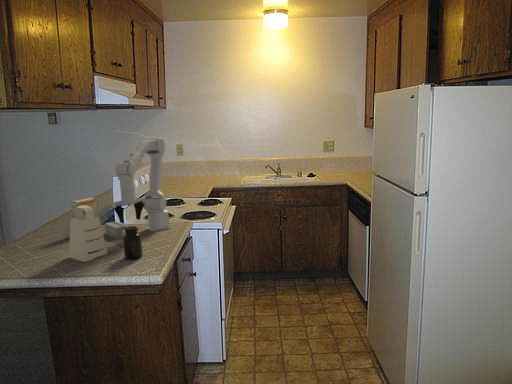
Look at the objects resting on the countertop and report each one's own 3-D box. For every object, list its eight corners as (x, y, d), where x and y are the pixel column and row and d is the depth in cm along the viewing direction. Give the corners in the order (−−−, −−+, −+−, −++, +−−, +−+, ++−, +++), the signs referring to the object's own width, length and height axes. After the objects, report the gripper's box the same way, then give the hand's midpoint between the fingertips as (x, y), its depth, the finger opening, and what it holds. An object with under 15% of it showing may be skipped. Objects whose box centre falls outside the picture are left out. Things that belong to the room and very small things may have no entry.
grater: (92, 250, 180) (87, 203, 176) (108, 254, 174) (103, 205, 170) (69, 257, 171) (63, 208, 168) (84, 261, 165) (79, 211, 162)
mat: (124, 230, 209) (124, 229, 209) (150, 241, 190) (150, 240, 190) (98, 235, 200) (98, 235, 200) (122, 247, 181) (122, 247, 181)
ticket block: (116, 231, 205) (115, 221, 205) (127, 236, 197) (126, 225, 196) (105, 233, 202) (104, 223, 201) (116, 238, 193) (115, 227, 192)
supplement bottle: (121, 257, 169) (118, 227, 167) (137, 253, 174) (134, 224, 172) (130, 261, 164) (127, 230, 162) (146, 256, 169) (143, 227, 167)
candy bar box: (81, 237, 199) (77, 202, 196) (74, 236, 201) (70, 201, 198) (100, 231, 208) (97, 198, 205) (93, 230, 211) (90, 197, 208)
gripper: (138, 186, 193) (140, 216, 195) (107, 191, 183) (110, 222, 185) (146, 188, 188) (148, 218, 190) (114, 193, 178) (117, 225, 180)
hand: (130, 221), depth 187 cm, fingers open, 7 cm apart
